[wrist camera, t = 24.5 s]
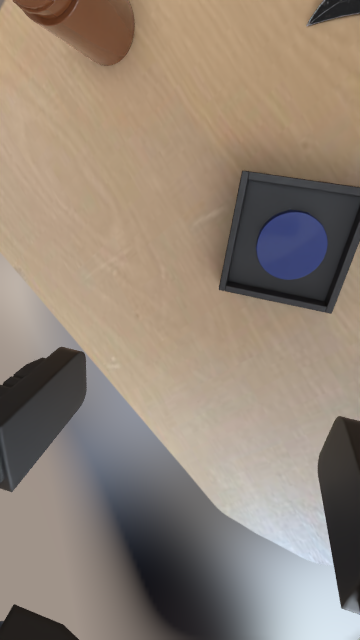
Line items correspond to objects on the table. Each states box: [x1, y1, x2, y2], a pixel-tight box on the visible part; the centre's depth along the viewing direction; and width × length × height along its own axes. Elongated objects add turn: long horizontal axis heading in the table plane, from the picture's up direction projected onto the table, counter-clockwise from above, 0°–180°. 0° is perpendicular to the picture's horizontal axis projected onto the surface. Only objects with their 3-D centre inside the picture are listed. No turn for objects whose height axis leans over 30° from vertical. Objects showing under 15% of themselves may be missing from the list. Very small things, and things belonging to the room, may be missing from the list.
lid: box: [256, 209, 328, 280], centre depth 28 cm, size 6×6×2 cm
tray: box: [219, 171, 360, 313], centre depth 28 cm, size 11×11×2 cm
